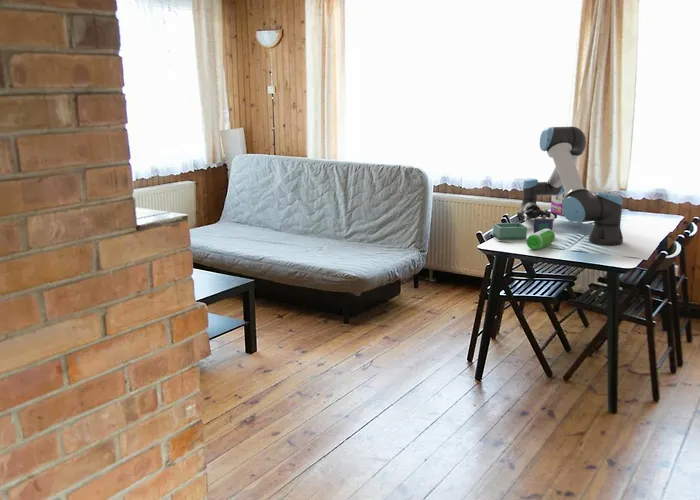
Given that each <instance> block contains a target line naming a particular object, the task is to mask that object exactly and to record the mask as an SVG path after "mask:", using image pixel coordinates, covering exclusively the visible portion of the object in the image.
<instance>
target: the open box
mask: <svg viewBox="0 0 700 500" xmlns="http://www.w3.org/2000/svg"><path fill="white" fill-rule="evenodd" d="M492 228H493V229H492V236H494V237H495V238H496V239H497V240H499V241H509V240H510V241H512V240H513V241H514V240H515V241H516V240H527V234H528V233H527V231H528V227H527V226H526V225H524V224H522V223H521V222H499V223H497V222H496V223H493V226H492Z"/></svg>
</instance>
